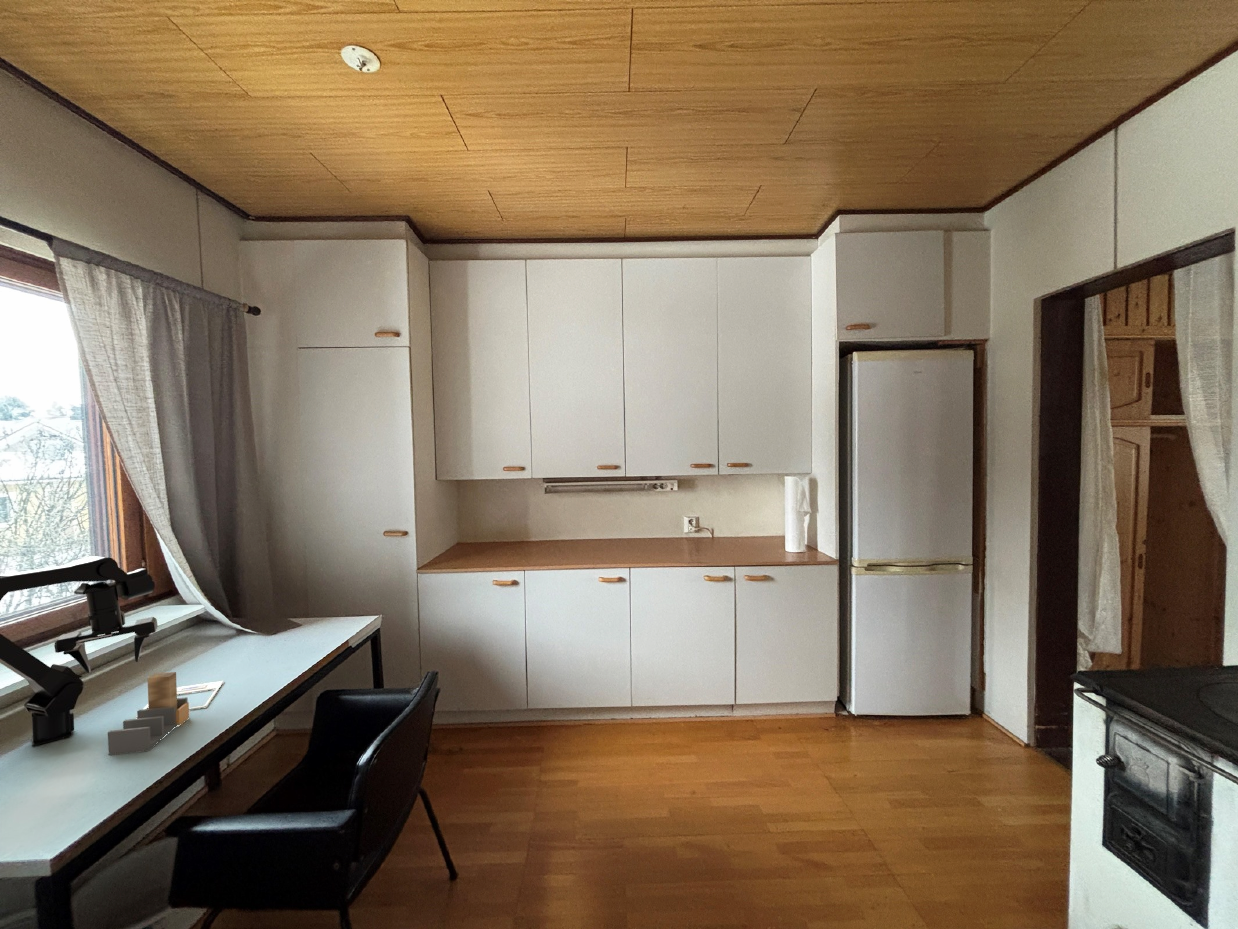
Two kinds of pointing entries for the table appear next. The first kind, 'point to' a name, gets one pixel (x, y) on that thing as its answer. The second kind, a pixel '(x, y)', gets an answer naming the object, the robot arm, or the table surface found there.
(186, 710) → the rack
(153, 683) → the wooden block
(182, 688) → the photo frame
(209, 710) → the table surface
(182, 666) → the table surface
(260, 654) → the table surface
